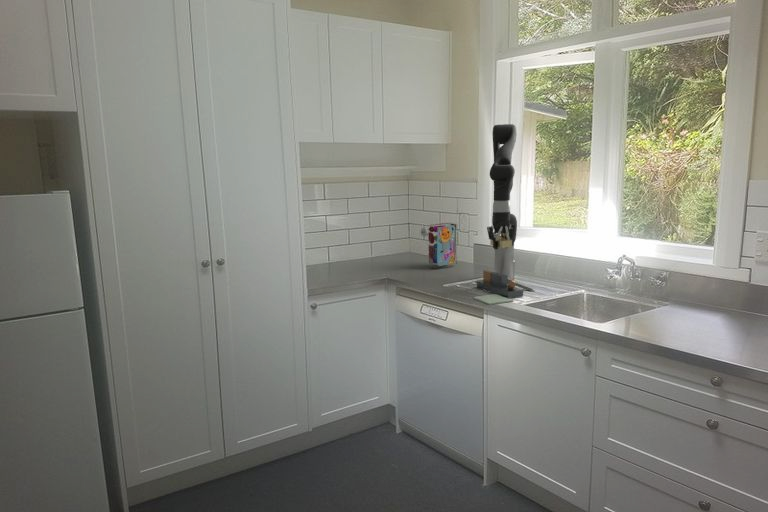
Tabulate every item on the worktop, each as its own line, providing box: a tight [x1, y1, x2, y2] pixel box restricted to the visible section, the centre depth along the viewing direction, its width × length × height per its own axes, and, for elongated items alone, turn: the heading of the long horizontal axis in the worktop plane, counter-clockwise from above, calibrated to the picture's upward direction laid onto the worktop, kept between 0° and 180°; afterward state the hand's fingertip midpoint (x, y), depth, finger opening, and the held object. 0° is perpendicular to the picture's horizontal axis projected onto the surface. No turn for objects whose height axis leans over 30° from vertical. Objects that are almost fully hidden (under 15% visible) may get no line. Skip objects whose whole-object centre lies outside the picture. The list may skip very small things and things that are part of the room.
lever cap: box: [489, 235, 512, 248], centre depth 247 cm, size 5×9×4 cm, turn 25°
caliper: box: [507, 278, 536, 292], centre depth 258 cm, size 20×1×6 cm, turn 47°
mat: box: [472, 293, 514, 306], centre depth 237 cm, size 12×12×1 cm
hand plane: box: [476, 269, 524, 299], centre depth 251 cm, size 8×24×8 cm, turn 24°
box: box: [420, 222, 458, 270], centre depth 304 cm, size 25×6×24 cm, turn 129°
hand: (500, 248), depth 248 cm, fingers closed on lever cap, 5 cm apart
